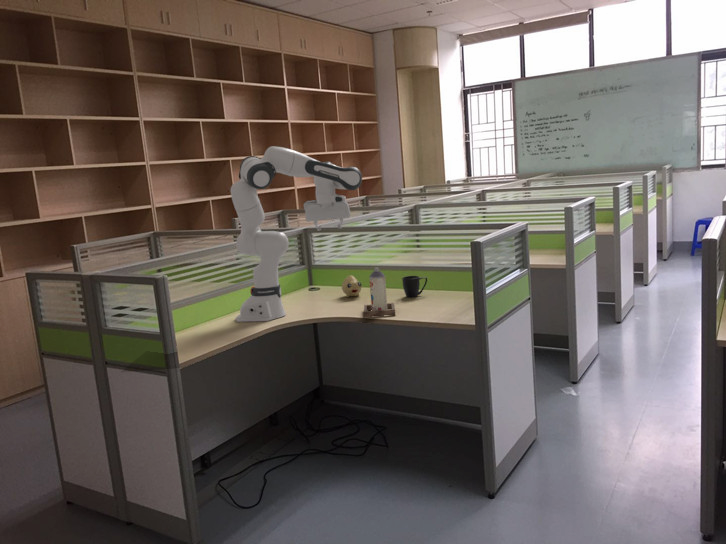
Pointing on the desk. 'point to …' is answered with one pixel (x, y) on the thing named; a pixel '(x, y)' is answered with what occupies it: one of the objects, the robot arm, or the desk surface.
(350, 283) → the egg character toy
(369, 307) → the frame
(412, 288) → the mug
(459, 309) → the desk surface
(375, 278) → the aerosol can
